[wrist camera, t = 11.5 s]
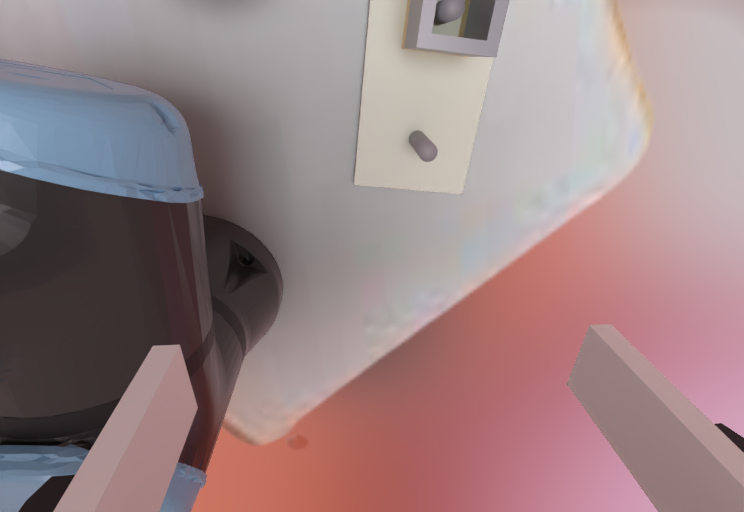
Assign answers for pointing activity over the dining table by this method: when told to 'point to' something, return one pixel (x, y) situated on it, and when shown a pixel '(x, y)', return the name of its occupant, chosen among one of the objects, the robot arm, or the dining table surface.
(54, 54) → the dining table surface
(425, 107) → the pin board
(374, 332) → the dining table surface
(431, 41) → the sleeve
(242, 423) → the dining table surface
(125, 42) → the dining table surface
